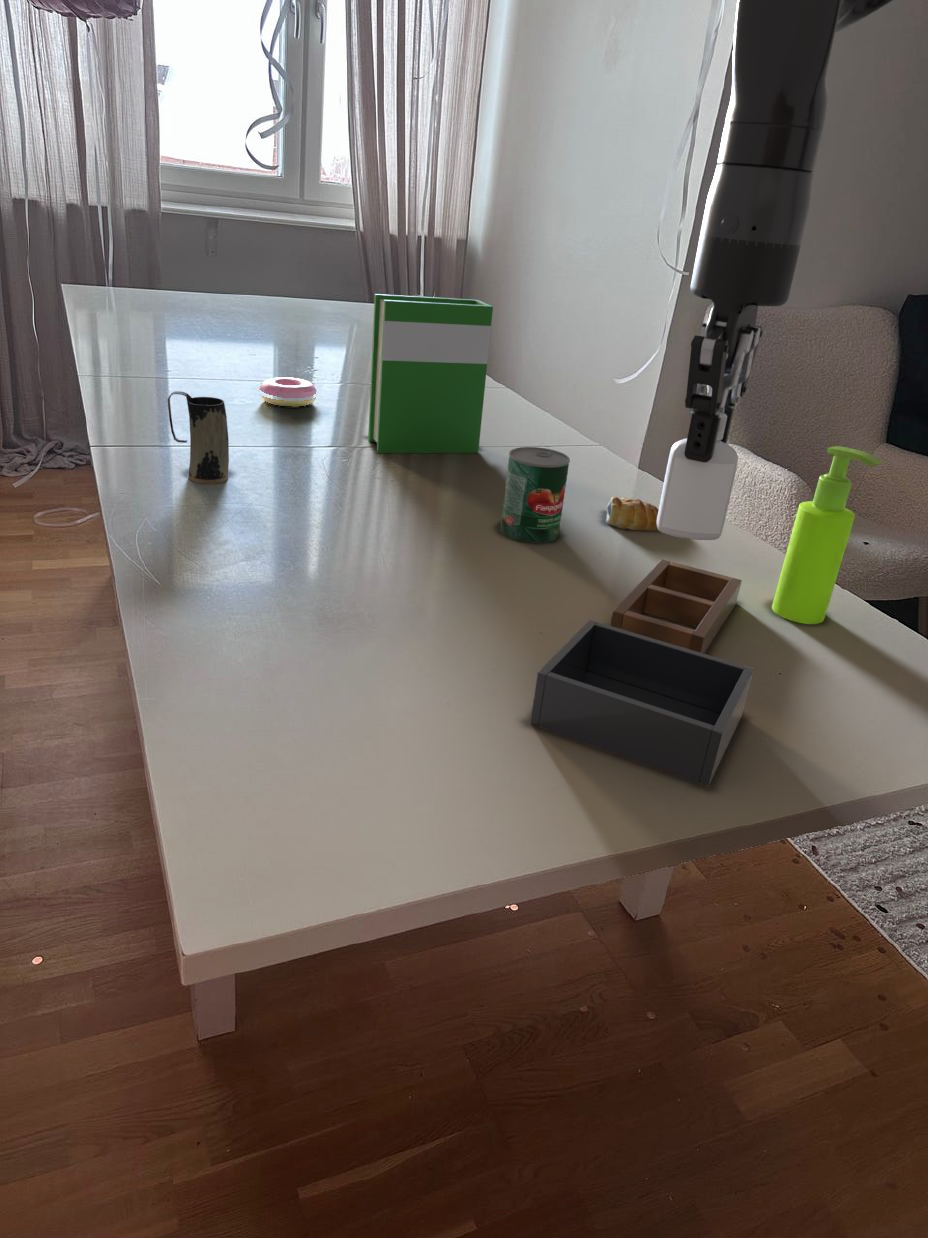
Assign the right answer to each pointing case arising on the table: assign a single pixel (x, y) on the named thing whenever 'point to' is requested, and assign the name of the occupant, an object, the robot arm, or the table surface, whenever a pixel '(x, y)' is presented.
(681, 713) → the dark grey open box
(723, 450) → the eye dropper bottle
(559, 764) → the table surface
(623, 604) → the tray
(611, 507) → the pastry
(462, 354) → the hardback book
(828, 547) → the soap dispenser
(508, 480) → the canned tomato
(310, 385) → the doughnut
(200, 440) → the mug
